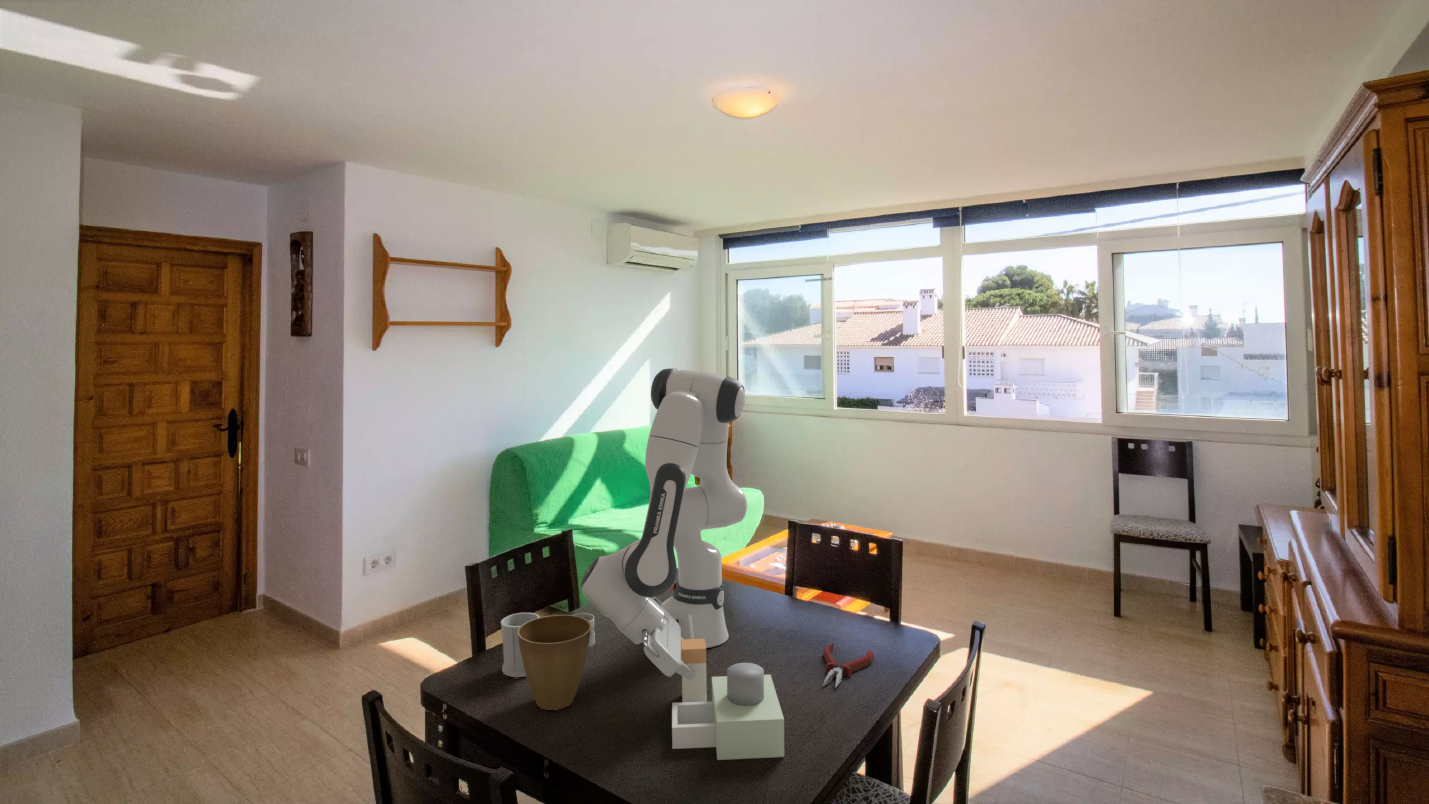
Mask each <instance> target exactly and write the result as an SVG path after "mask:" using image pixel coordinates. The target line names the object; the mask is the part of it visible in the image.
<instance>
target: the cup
mask: <svg viewBox="0 0 1429 804" xmlns="http://www.w3.org/2000/svg"><path fill="white" fill-rule="evenodd" d="M540 617H541V616H540V615H539V614H538V613H535V612H518V613H512V614H510V615H507V616H506V617H505V616H504V617H503V618H502V619H501V621H500V628H501V636H502V637H501V638H502V646H503V647H502V651H503V664H502V665H501V667H502V668H501V669H502V671H501V672H503V673H504V674H505V675H507V676H511V677H523V676H526V673H525V670H524V666H523V662H522V657H521V653H520V647H519V641H518V634H517V631H518V629H519V627H520V626H521V625H523V624H524V623H526V622H528V621H530V620H533V619H536V618H540ZM503 673H502V674H503ZM504 674H503V675H504ZM505 675H504V676H505ZM507 676H506V677H507Z"/></svg>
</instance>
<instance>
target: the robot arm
mask: <svg viewBox="0 0 1429 804" xmlns="http://www.w3.org/2000/svg"><path fill="white" fill-rule="evenodd" d="M650 399H651V400H650V401H651V403H652V405H653V406H654V409H656V412H655V416H654V419H653V421H652V425H651V428H650V431H649V435H648V439H647V441H646V443H647V444H646V450H645V457H644V458H645V460H644V461H645V463H644V469H645V472H646V475H647V479H648V481H649V482H648V483H649V489H650V492H649V493H650V495H649V502H648V507H647V508H648V509H647V511H646V512H647V513H646V517H645V521H644V526H643V530H642V531H643V532H642V534H641V535H642V536H641V538H640V539H637V540H635V541H633V542H632V543H630V544H628V545H626V546H625V547H623V548H621V549H620V550H617V551H615V552H613V553H609V554H607V555H603V556H602V555H601V556H598V557H596V558H595V559H594V560H593V561H592V562H591V563H590V565H589V566H588V567H587V569H586V571H585V572H584V574H583V577H582V578H581V583H580V585H581V586H580V588H581V592H582V593H583V595H584V596H585V598H586V599H587V600H588V601H589V602H590V603H591V605H592V606H594V608H595V609H596V610H598V612H599V613H600V614H602V615H603V616H604V617H606V618H608V619H610V621H612V622H613V623H614V625H615V626H616V628H617V629H618V630H619V631H620V632H621V633H622V634H623V635H625V636H626V637H627V638H628V639H629V640H630V641H631V642H632V643H633V644H635V645H640V644H643V652H644V654H645V656H646V657H647V658H648V660H650V661H651V663H652V665H654V666H655V667H656V668H657V669H659V671H660V672H661V673H663V675H664V676H666V677H668V678H671V677H672V676H674V674H678V675H679V676H681V677H682V676H684V677H685V678H686V679H687V680H689V681H690V680H692V679H693V678H694V676H695V672H694V670H693V669H692V668H691V667H690V666H689V667H688V666H686V665H685V664H684V662H683V661H682V645H681V639H705V643H706V649H707V648H708V649H709V648H713V647H717V646H720V645H723V644H724V643H726V642H727V641H728V640H729V636H730V635H729V632H728V628H727V624H726V619H725V612H724V603H725V602H724V601H725V600H724V599H725V590H724V582H723V576H722V574H723V573H722V571H723V570H722V569H723V567H722V566H723V565H722V555H721V552H720V550H719V549H718V548H717V547H716V546H715V545H713V544H711V543H709V542H707V541H705V540H703V539H702V531H705V530H711V529H713V530H714V529H718V528H719V529H720V528H726V527H729V526H732V525H735V524H738V523H741V522H742V521H743V520H744V518H745V516H747V511H748V499H747V497H746V494H745V492H744V491H743V490H742V489H741V488H740V487H739V486H738V485H737V484H735V483H734V482H733V480H732V479H731V476H730V475H729V471H728V465H727V457H728V456H727V455H728V453H727V452H728V440H729V429H730V428H729V425H730V423H733V422H734V421H736V420H737V419H739V417H741V414H742V411H743V410H744V408H745V404H746V393H745V387H744V385H743V384H742V382H741V381H740V380H739V379H737V378H733V377H731V376H727V375H726V376H723V375H720V374H716V373H712V372H708V371H703V370H702V371H697V370H690V369H689V370H687V369H686V370H685V369H684V370H683V369H677V368H664V369H661V370H660V371H659V372H658V373H657V374H656V375H655V376H654V378H653V381H652V384H651V387H650ZM691 475H692V476H694V477H696V478H699V481H700V482H699V484H698V486H690V487H687V485H688V481H689V479H690V478H691ZM674 550H675V551H674ZM675 553H676V555H675ZM676 559H677V560H676ZM677 568H678V569H677ZM677 572H678V581H676V582H675V580H676V577H677ZM669 589H670V590H669ZM668 590H669V592H672V591H673V593H672V595H671V596H670V597H668V598H667V599H666V600H664V601H663V602H661V601H660V600H659V599H658V598H657V597H659V596H661V595H663V594H664V593H666V592H668Z"/></svg>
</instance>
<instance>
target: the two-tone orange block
mask: <svg viewBox="0 0 1429 804" xmlns="http://www.w3.org/2000/svg"><path fill="white" fill-rule="evenodd" d="M681 645H682V652H681V660H682V661H683V662H684V664H685V665H686V666H688V667H689V666H690V667H691V668H692V669H693V670H694V672H695V676H694V678H693V679H692V680H690V681H689V680H687V679H686V678H685V677H684V676H682V675H681V697H682V699H681V701H682V702H704V701H707V700H708V696H707V695H708V694H707V687H708V686H707V648H706V643H705V639H681Z"/></svg>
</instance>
